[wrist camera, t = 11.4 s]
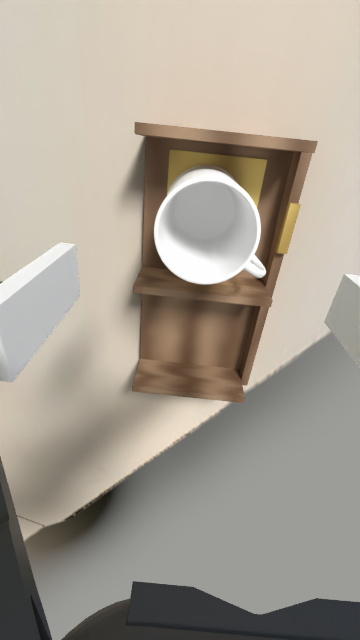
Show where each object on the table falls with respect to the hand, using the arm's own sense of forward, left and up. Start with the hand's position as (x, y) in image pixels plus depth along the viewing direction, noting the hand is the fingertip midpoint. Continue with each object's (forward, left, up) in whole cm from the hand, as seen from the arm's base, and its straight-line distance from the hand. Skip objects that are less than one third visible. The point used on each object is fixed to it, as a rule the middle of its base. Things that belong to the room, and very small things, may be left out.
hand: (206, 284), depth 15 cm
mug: (+1, -1, -21) cm, 21 cm away
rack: (+1, -8, -22) cm, 23 cm away
